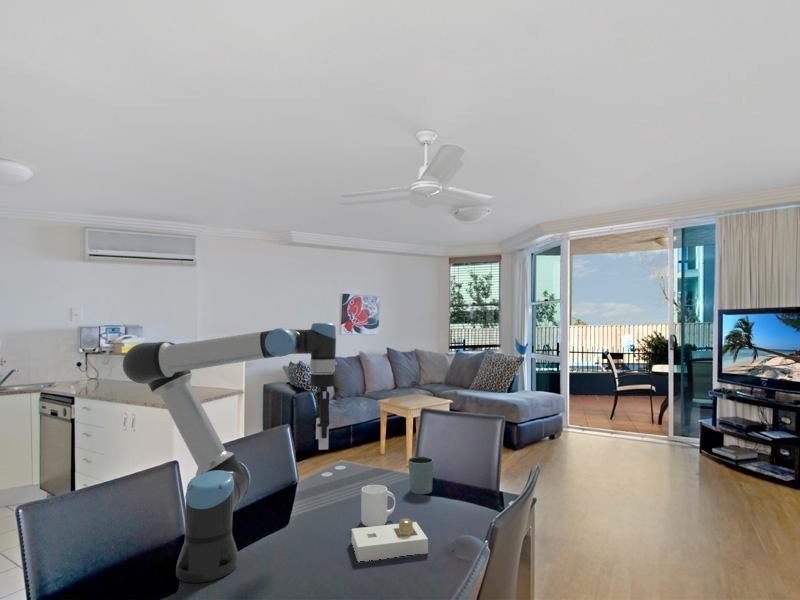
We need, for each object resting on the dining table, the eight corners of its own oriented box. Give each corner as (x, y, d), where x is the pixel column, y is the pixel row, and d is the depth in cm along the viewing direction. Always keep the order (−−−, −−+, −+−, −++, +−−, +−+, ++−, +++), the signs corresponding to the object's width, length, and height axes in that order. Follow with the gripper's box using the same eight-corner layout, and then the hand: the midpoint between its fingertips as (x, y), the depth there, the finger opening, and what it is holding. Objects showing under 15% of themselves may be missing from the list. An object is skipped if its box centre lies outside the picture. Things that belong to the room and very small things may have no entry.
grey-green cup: (434, 495, 172) (433, 463, 173) (408, 494, 172) (408, 463, 173) (432, 486, 182) (432, 456, 183) (407, 486, 182) (407, 456, 183)
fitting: (400, 550, 127) (400, 525, 128) (397, 543, 131) (397, 519, 132) (414, 548, 128) (414, 523, 129) (410, 542, 132) (410, 517, 133)
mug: (400, 523, 146) (400, 489, 147) (366, 529, 141) (366, 494, 142) (390, 513, 154) (390, 481, 155) (357, 519, 149) (357, 486, 150)
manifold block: (357, 562, 121) (357, 547, 121) (351, 542, 132) (351, 528, 132) (428, 553, 125) (427, 538, 126) (416, 535, 137) (416, 521, 137)
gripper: (339, 376, 126) (338, 453, 124) (331, 370, 150) (330, 434, 148) (312, 377, 124) (311, 455, 122) (308, 370, 148) (307, 435, 146)
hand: (321, 443), depth 135 cm, fingers open, 13 cm apart
